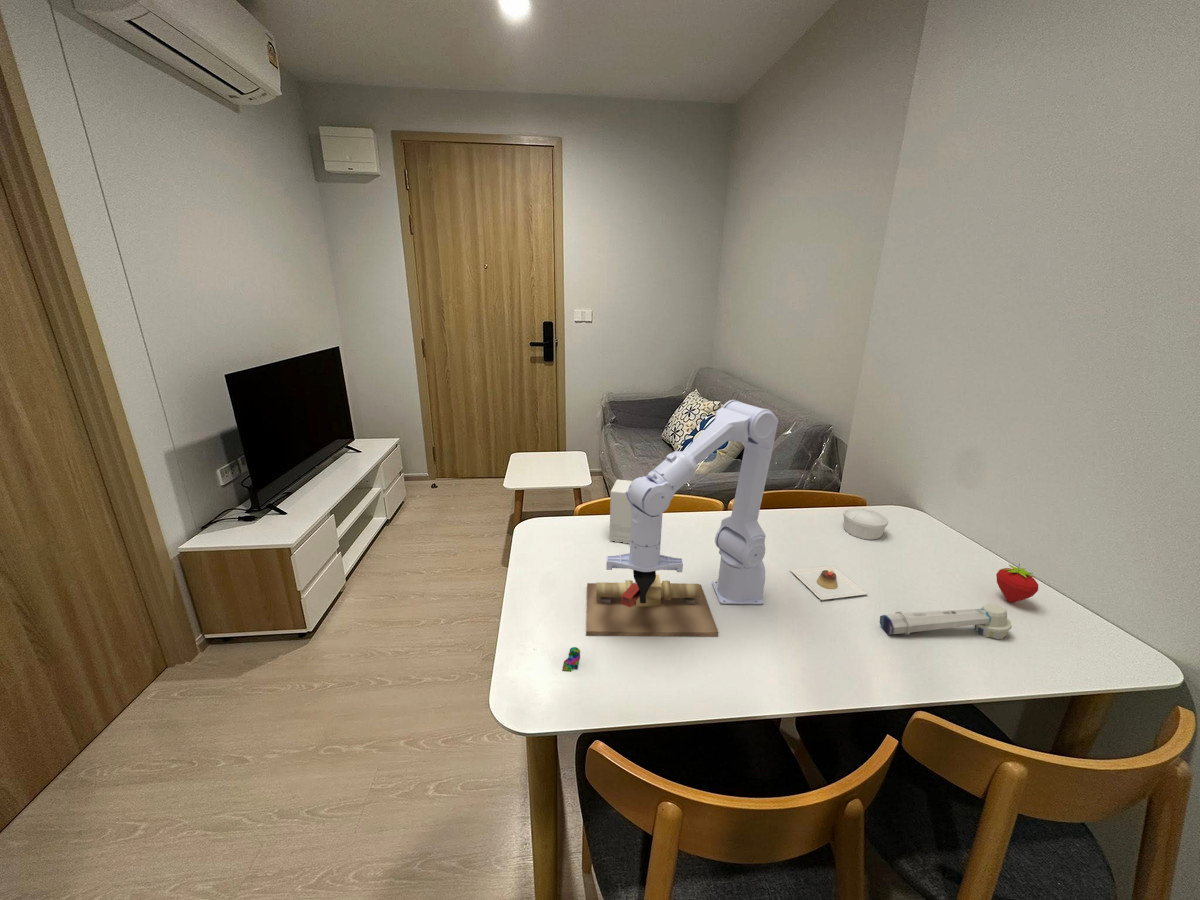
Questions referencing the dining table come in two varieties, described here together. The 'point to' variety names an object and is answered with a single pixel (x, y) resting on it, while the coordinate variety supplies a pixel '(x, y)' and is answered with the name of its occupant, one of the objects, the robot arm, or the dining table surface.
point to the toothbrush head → (950, 621)
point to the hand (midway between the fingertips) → (642, 600)
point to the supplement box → (620, 512)
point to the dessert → (828, 580)
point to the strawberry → (1016, 584)
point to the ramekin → (864, 523)
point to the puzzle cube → (572, 660)
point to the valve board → (649, 611)
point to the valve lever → (631, 595)
